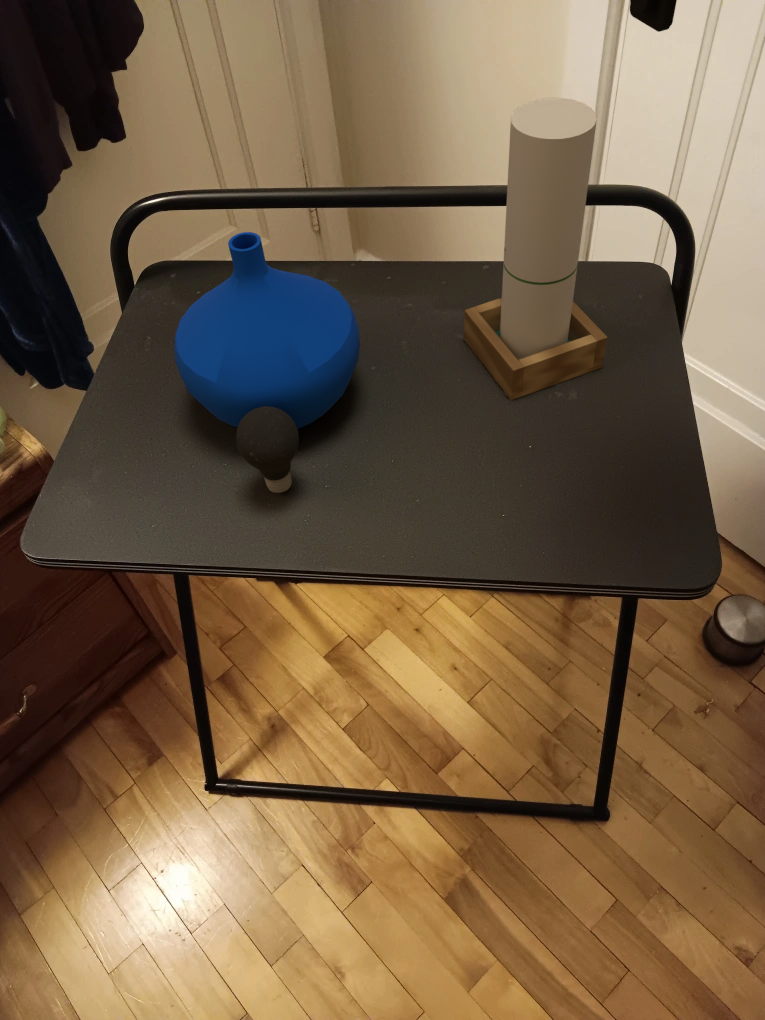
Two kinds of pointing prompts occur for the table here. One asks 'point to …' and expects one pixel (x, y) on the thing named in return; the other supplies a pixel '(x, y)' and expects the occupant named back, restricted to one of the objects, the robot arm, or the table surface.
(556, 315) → the cylindrical container
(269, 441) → the light bulb
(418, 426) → the table surface
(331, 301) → the vase
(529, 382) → the square wooden tray
